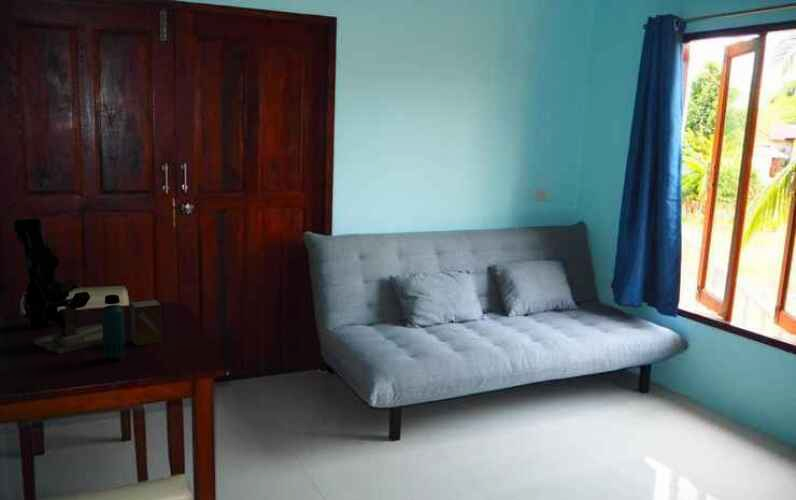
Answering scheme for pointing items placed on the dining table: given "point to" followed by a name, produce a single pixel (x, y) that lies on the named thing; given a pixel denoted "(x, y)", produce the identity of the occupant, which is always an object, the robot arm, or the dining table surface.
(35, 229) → the robot arm
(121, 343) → the beverage bottle
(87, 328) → the board
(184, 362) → the dining table surface
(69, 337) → the block
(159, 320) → the small box
